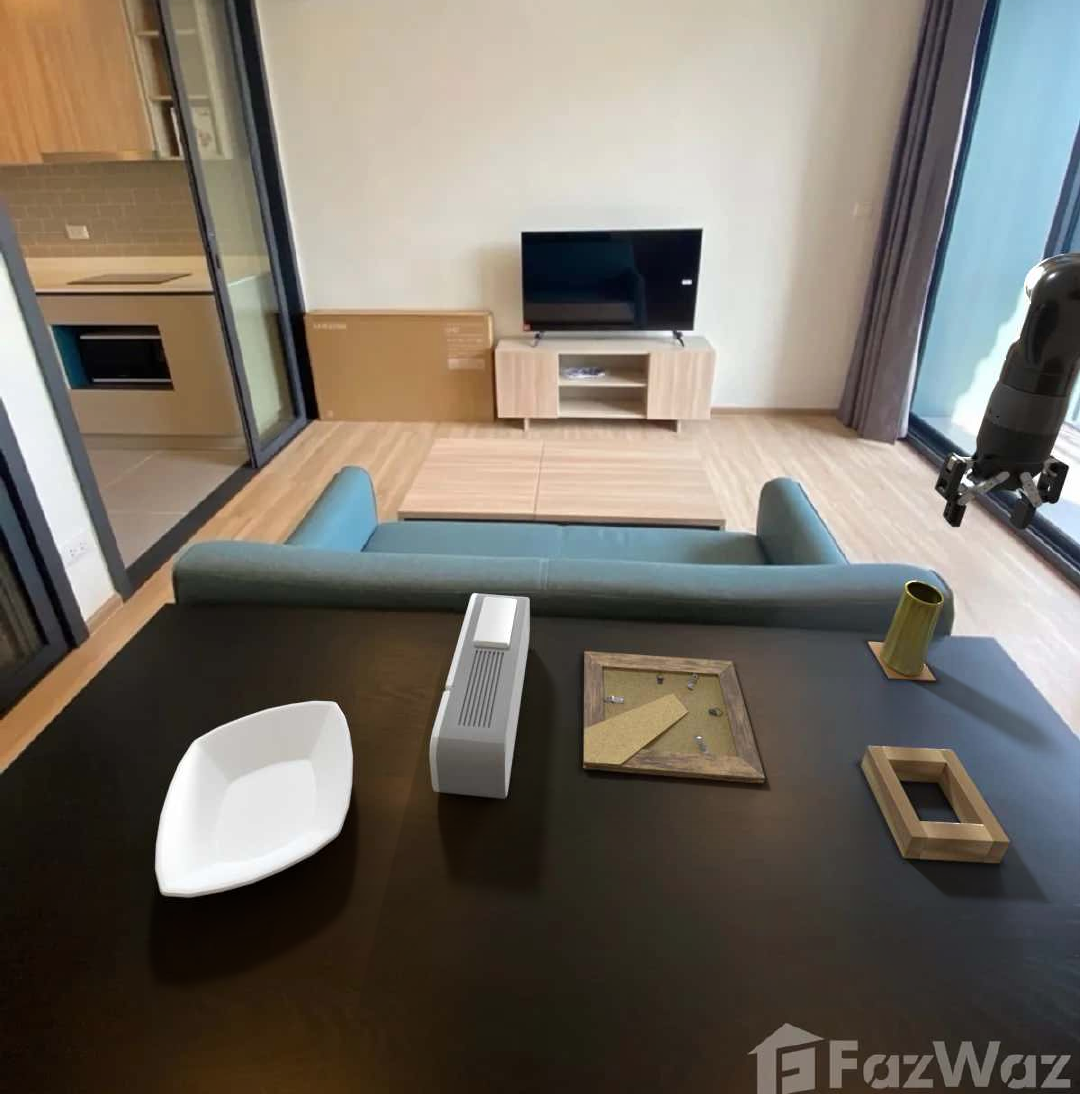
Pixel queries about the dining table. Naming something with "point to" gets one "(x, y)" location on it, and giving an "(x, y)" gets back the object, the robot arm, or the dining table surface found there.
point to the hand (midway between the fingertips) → (984, 524)
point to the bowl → (254, 799)
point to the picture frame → (667, 718)
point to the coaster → (894, 674)
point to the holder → (978, 825)
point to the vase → (912, 628)
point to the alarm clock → (482, 699)
